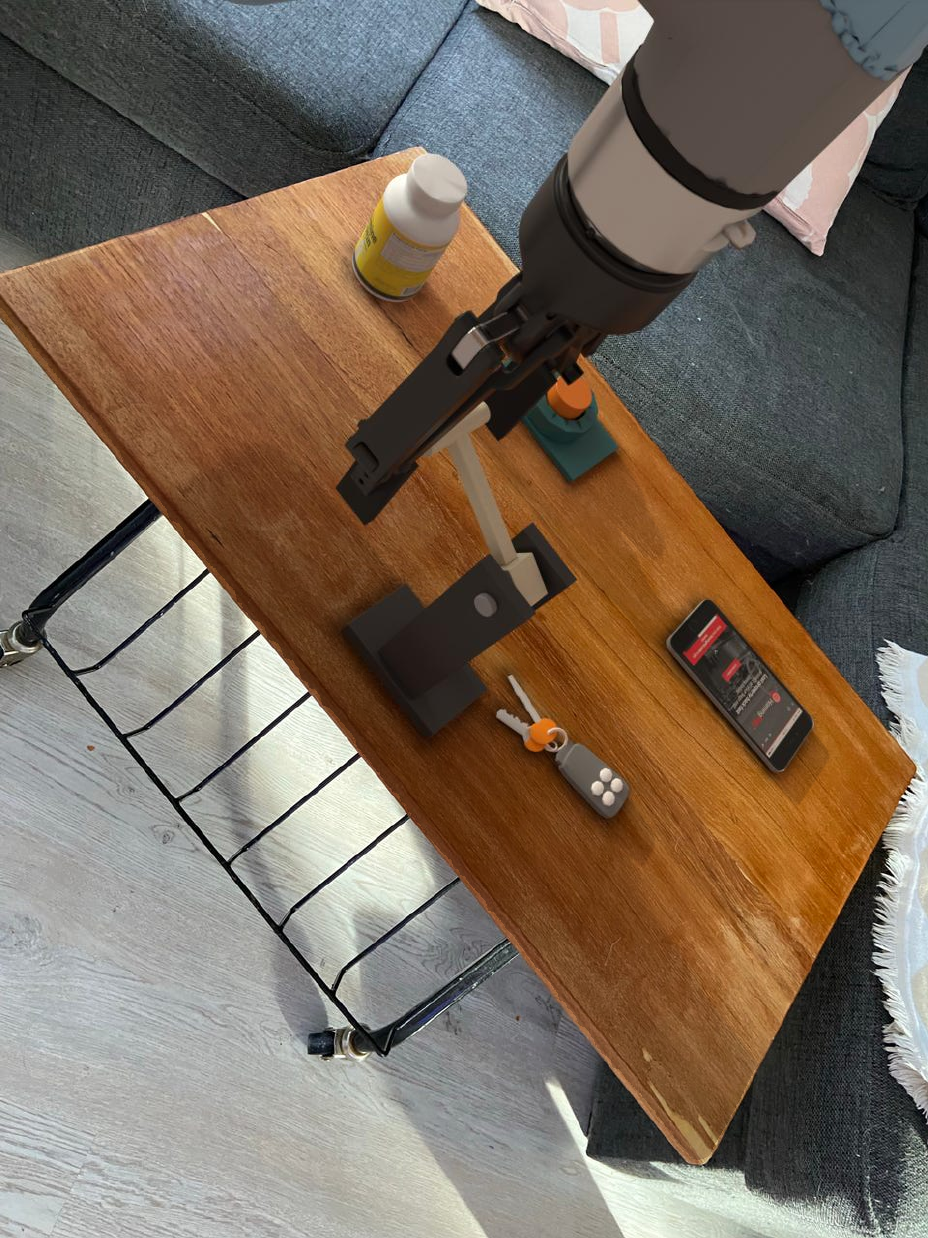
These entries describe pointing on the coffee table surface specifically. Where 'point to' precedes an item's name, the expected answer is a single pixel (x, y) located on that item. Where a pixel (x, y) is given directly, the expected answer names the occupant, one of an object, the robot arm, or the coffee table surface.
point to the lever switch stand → (449, 633)
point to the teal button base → (569, 437)
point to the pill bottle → (410, 229)
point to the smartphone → (741, 685)
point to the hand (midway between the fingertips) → (425, 461)
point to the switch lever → (489, 506)
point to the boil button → (569, 398)
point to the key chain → (571, 760)
